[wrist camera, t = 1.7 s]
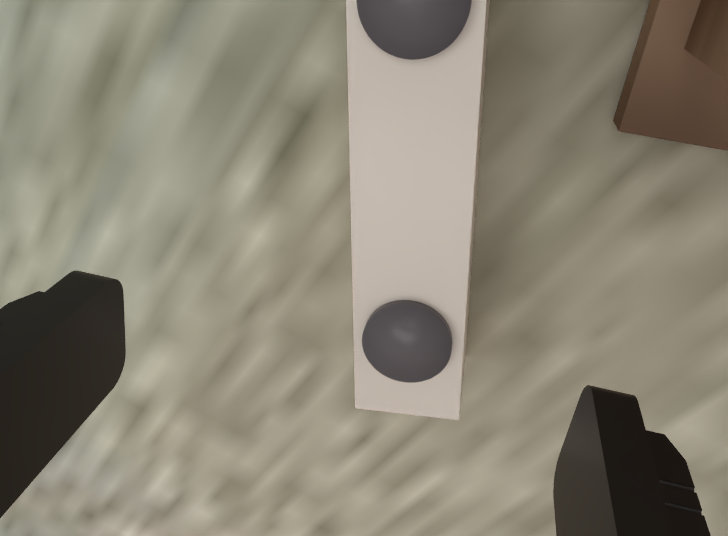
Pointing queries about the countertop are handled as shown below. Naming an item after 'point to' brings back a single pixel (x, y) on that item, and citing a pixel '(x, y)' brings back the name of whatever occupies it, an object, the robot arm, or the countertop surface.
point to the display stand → (679, 75)
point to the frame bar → (413, 196)
